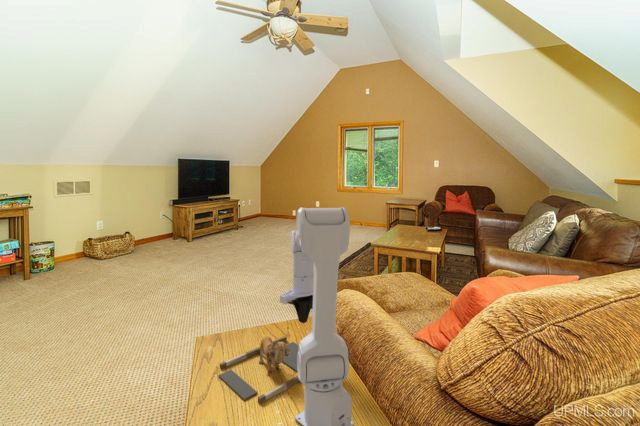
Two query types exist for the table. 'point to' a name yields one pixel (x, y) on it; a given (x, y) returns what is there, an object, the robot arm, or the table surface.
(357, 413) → the table surface
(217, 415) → the table surface
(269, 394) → the wooden sticks
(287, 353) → the lion figurine
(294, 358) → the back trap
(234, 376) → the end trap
